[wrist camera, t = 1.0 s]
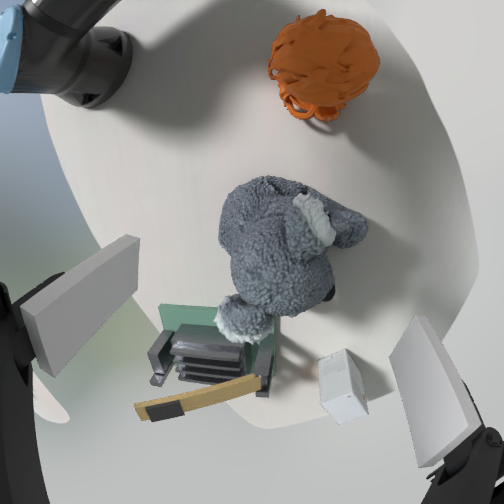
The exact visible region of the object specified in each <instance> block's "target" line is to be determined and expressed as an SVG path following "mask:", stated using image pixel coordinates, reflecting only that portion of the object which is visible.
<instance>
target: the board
mask: <svg viewBox="0 0 504 504" xmlns="http://www.w3.org/2000/svg"><path fill="white" fill-rule="evenodd" d="M158 309H159V313H160V317H161V320H162V324H163V328H164V329H165V330H174V334H175V333H176V331H177V330H178V328H179V327H180V325H181V324H182V323H184V324H195V325H208V326H217V322H216V323H214V321H213V320H214V319H215V316H216V317H217V312H218V307H201V306H185V305H171V304H160V306H159V307H158ZM273 322H274V321H273ZM273 325H274V327H273V328H271V329H272V332H270V333H274V330H275V322H274V323H273ZM253 344H254V345H252V344H251V352H252V367H251V371H250V374H252V373H254V370H253V369H254V365H255V361H256V356H257V352H258V348H259V344H258V343H257V342H254V343H253ZM271 356H275V337H274V343H273V349H272V355H271ZM174 365H175V366H177V365H178V364H174ZM275 372H276V365H275V362H274V368H273V375H272V376H275Z"/></svg>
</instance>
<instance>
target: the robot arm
mask: <svg viewBox="0 0 504 504" xmlns="http://www.w3.org/2000/svg"><path fill="white" fill-rule="evenodd" d="M120 1H121V0H26V1H25V2H24V3H23V4H22V5H19V4H16V5H12V6H9V7H8V8H6V10H5V11H4V12H2V13H1V15H0V92H1V93H4V94H9V93H40V94H55V95H57V96H58V97H60V98H61V99H63V100H65V101H66V102H68V103H69V104H71V105H74V106H77V107H94V106H97V105H99V104H101V103H103V102H104V101H106V100H107V99H108V98H110V97H111V96H112V95H113V94H114V93H115V92H116V90H117V89H118V88H119V86H120V85H121V84H122V82H123V80H124V79H125V77H126V75H127V72H128V70H129V67H130V63H131V59H132V46H131V42H130V40H129V38H128V36H127V35H126V34H125V33H123V32H122V31H120V30H118V29H116V28H113V27H93V26H94V25H95V24H96V23H97V22H98V21H99V20H101V19H102V18H103V17H104V16H105V15H106V14H107V13H108V12H109V11H110V10H111V9H112V8H113V7H114V6H116V5H117V4H118V3H119V2H120ZM139 246H140V238H137V237H134V236H131V235H127V234H126V235H124V236H122V237H121V238H119V239H117V240H116V241H114V242H113V243H111V244H109V245H108V246H106V247H105V248H103V249H101V250H100V251H98V252H97V253H95V254H94V255H92V256H90V257H89V258H87V259H86V260H84V261H83V262H81V263H80V264H78V265H77V266H75V267H74V268H73V269H71V270H69V271H68V272H66V273H65V272H62V273H59V274H56V275H53V276H51V277H49V278H48V279H47V280H45V281H44V282H43V284H42V283H41V284H39V285H38V286H37V287H36V289H35V288H34V289H32V290H31V291H29V292H28V293H27V294H25V295H24V296H23V297H21V298H20V299H18V300H17V301H16V302H14V303H13V304H12V305H11V301H10V297H9V293H8V289H7V287H6V285H5V284H4V283H2V282H0V504H50V502H49V499H48V495H47V491H46V487H45V483H44V479H43V475H42V470H41V465H40V459H39V453H38V448H37V440H36V432H35V422H34V408H33V369H32V364H31V361H32V360H33V359H34V358H35V357H36V359H37V362H38V364H39V367H40V368H41V369H42V370H44V371H45V372H47V373H48V374H49V375H51V376H52V377H54V378H55V377H56V376H57V375H58V374H59V373H60V371H61V370H62V369H63V368H64V367H65V366H66V365H67V363H68V362H69V361H70V360H71V359H72V358H73V357H74V356H75V355H76V353H77V352H78V351H79V350H80V349H81V348H82V347H83V346H84V345H85V344H86V342H87V341H88V340H89V339H90V338H91V337H92V336H93V335H94V334H95V333H96V332H97V331H98V329H100V327H101V326H102V325H103V324H104V323H105V322H106V321H107V320H108V319H109V318H110V317H111V316H112V315H113V314H114V313H115V311H117V310H118V309H119V307H121V306H122V304H124V303H125V302H126V301H127V299H128V298H129V297H130V296H131V295H132V294H133V293H134V292H135V291H136V290H137V289H138V262H139ZM389 359H390V362H391V365H392V368H393V371H394V375H395V378H396V381H397V384H398V388H399V391H400V394H401V398H402V401H403V405H404V409H405V412H406V416H407V420H408V424H409V428H410V432H411V436H412V440H413V445H414V449H415V453H416V458H417V463H418V468H422V467H430V466H433V465H435V464H436V463H437V462H438V461H440V460H441V459H442V458H443V459H444V462H445V463H444V464H443V465H442V466H441V467H439V468H438V469H436V470H435V471H434V472H432V473H431V474H429V475H428V476H427V478H426V479H429V478H431V477H432V476H434V475H436V476H435V478H434V479H432V480H431V482H432V484H431V486H430V488H429V490H428V492H427V493H426V495H425V498H424V499H423V501H422V503H421V504H504V482H502V483H501V484H499V485H498V486H497V487H495V482H496V481H497V480H499V479H500V478H501V477H503V476H504V441H503V440H502V438H501V436H500V434H499V432H498V431H497V430H495V429H494V428H492V427H487V428H485V425H484V423H483V421H482V418H481V416H480V414H479V411H478V409H477V407H476V405H475V403H473V402H474V400H473V398H472V396H470V392H469V390H468V388H467V386H466V384H465V383H464V382H463V381H462V379H461V378H460V376H459V374H458V372H457V370H456V368H455V366H454V364H453V363H452V360H451V359H450V357H449V355H448V353H447V351H446V349H445V348H444V346H443V344H442V342H441V340H440V339H439V337H438V335H437V334H436V332H435V330H434V328H433V327H432V325H431V323H430V322H429V320H428V319H427V317H425V316H420V315H416V314H415V315H414V317H413V318H412V320H411V322H410V324H409V325H408V327H407V329H406V330H405V332H404V334H403V336H402V337H401V339H400V340H399V342H398V344H397V345H396V347H395V348H394V350H393V352H392V353H391V355H390V356H389Z"/></svg>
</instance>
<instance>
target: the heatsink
mask: <svg viewBox="0 0 504 504" xmlns="http://www.w3.org/2000/svg"><path fill="white" fill-rule="evenodd" d="M221 334H222V333H221V332H219V328H218V326H208V325H195V324H184V323H182V324H181V325H180V327H179V328H178V330H177V331H176V333H175V334H174V330H165V329H164V330H163V331H162V333H161V334H160V336H159V337H158V338H157V340H156V341H155V343H154V344H153V346H152V347H151V348H150V350H149V351H148V353H147V354H148V357H149V360H150V362H151V365H152V368H153V371H154V372H155V373H154V375H153V376H152V378H151V380H150V383H151V385H153V386H158V387H162V385H163V383H164V381H165V380H166V378H167V376H168V374H169V373H170V371H171V369H172V367H173V365H174V364H178V365H177V367H176V369H175V370H176V372H179V373H180V375H179V377H178V379H179V380H181V381H187V382H194V383H201V384H208V385H216V384H220V383H223V382H227V381H230V380H233V379H237V378H240V377H243V376H246V375H249V374H250V371H251V367H252V352H251V343H249V342H247V341H246V342H244V343H242V344H241V342H239V343H236V342H235V343H232V342H231V341H230V340H229V341H228V339H226V336H225V334H224V335H223V334H222V335H221ZM274 337H275V330H274V333H269V334H268V336H267V337H265V338H264V339H263V340H260V343H259V344H260V345H259V348H258V352H257V356H256V361H255V365H254V369H253V370H254V375H260V376H267V389H266V390H258V391H256V397H268V398H269V394H270V388H271V381H272V375H273V368H274V362H275V356H271V355H272V349H273V343H274Z"/></svg>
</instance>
